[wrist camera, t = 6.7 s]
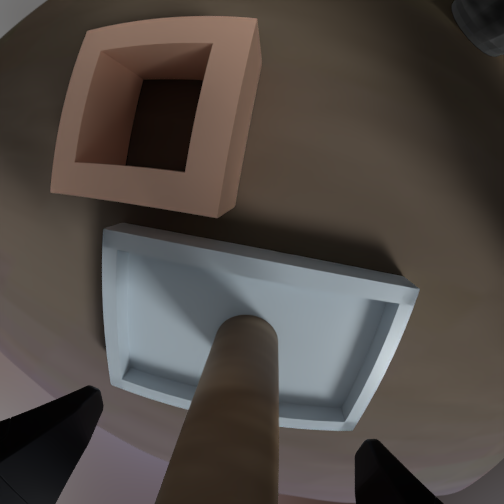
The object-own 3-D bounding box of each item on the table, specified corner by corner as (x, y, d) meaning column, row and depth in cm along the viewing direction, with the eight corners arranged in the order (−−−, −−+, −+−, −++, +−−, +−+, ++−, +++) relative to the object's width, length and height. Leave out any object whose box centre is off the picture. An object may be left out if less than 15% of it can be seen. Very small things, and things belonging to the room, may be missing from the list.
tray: (403, 276, 12) (419, 289, 11) (346, 410, 15) (352, 430, 13) (122, 222, 13) (103, 228, 11) (123, 367, 15) (111, 384, 13)
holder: (262, 63, 10) (256, 18, 7) (234, 206, 12) (217, 218, 8) (129, 60, 11) (87, 30, 7) (103, 187, 12) (50, 192, 8)
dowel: (284, 321, 13) (292, 542, 3) (270, 371, 13) (260, 562, 4) (220, 308, 13) (137, 515, 3) (212, 359, 13) (151, 542, 4)
